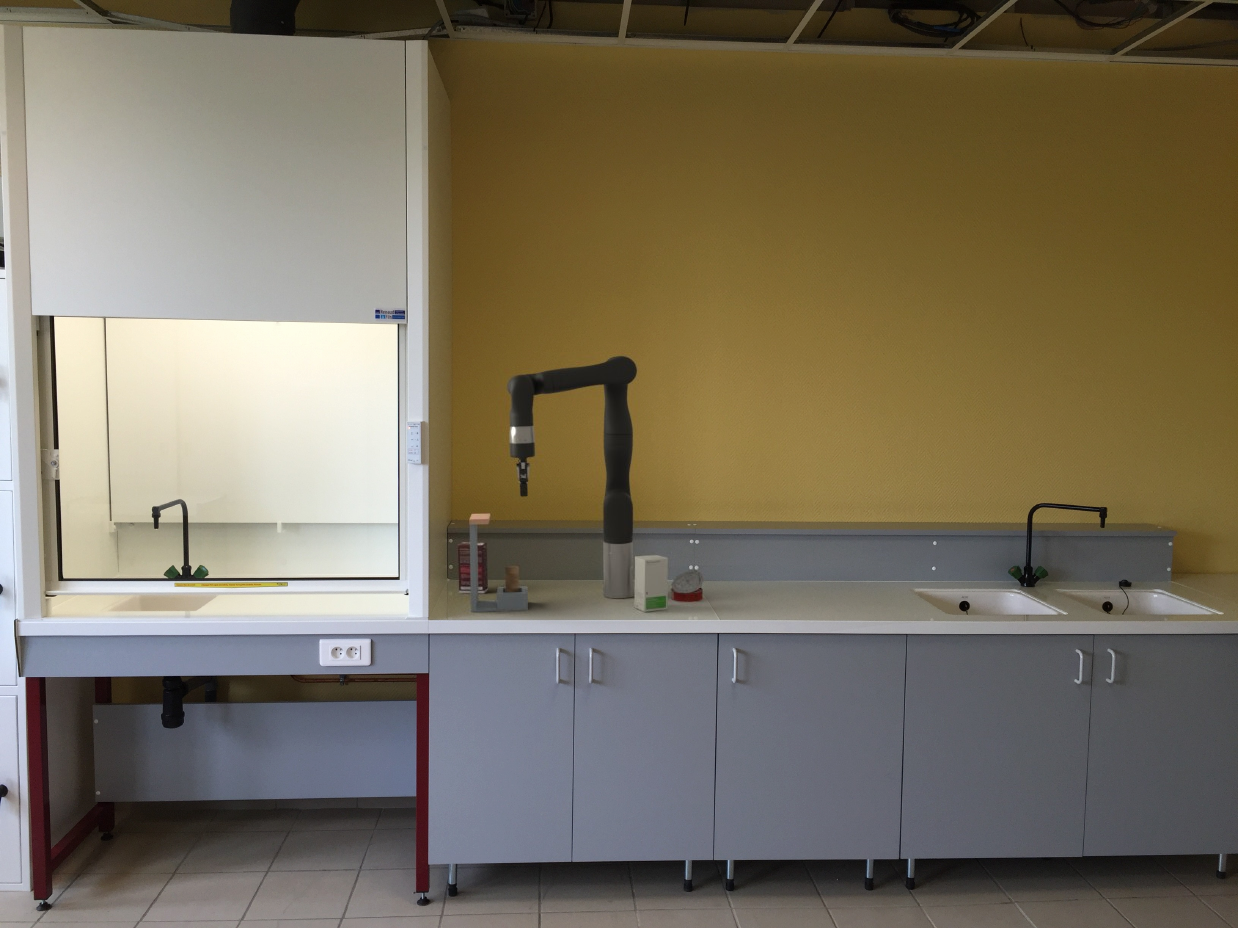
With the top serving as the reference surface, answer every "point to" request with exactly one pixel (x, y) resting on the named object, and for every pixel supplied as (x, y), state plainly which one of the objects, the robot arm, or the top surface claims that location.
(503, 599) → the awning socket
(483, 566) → the supplement box
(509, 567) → the peg
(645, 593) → the skincare box
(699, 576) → the canned food
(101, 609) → the top surface
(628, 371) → the robot arm
